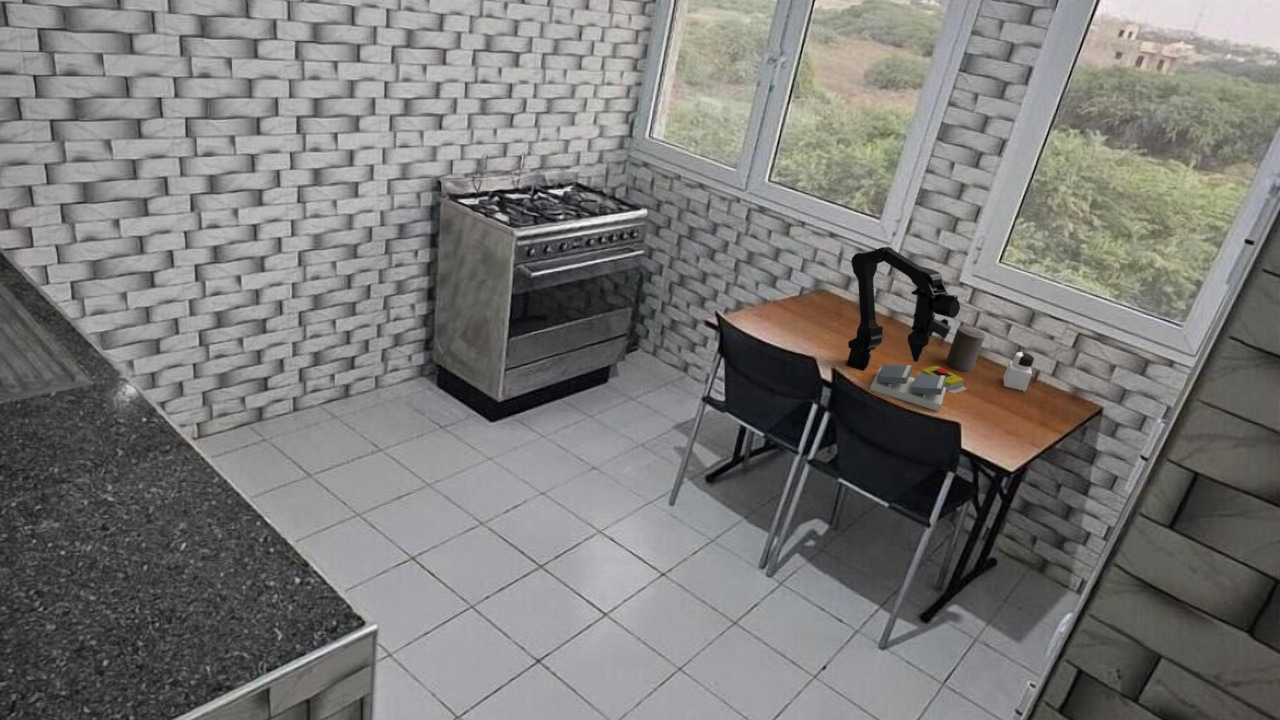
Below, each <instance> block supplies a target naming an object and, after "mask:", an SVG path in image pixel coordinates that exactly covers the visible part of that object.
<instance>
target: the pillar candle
mask: <svg viewBox="0 0 1280 720" xmlns="http://www.w3.org/2000/svg"><path fill="white" fill-rule="evenodd" d="M985 338H986V334H985V333H984V332H982V331H981V330H979V329H977V328H974V327H971V326H966V325H964V326H963V325H961V326H960V325H959V326H958V327H957V328H956V332H955V334H954V337H953V340H952V343H951V345H950V348H949V351H948V354H947V357H946V360H945V364H946V365H948V367H949V368H951V369H954V370H956V371H960V372H965V373H970V372H972V371H973V370H974V368H975V364H976V363H977V359H978V356H979V355H980V354H979V353H980V352H981V348H982V345H983V344H984V341H985Z"/></svg>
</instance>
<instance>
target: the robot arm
mask: <svg viewBox="0 0 1280 720" xmlns="http://www.w3.org/2000/svg"><path fill="white" fill-rule="evenodd" d="M850 262H851V267H852V272H853V274H854V275H855V277H856V279H857V284H858V285H857V286H858V287H857V288H858V298H859V299H858V301H859V315H860V316H859V318H860V320H859V321H860V323H859V325H858V327H857V329H856V330H857V331H856V337H855V338H853V339H850V340H848V342H847V343H848V344H847V345H848V347H847V348H848V349H850V352H849V354H848V358H847V361H846V362H845V365H846V366H849V367H852V368H855V369H858V370H861V371H865V370H866V368H868V366H869V364H870V361H871V358H872V354H871V352H872V351H874V350H875V349H876V347H878V346H880V344H882V342H883V338H884V333H883V329H884V327H883V326H882V325H879V324H878V322H877V318H876V303H875V289H874V288H875V287H874V277H875V276H876V273H877V270H878V264H880V263H882V262H883V263H884V262H885V263H886V264H888V265H889V266H891V267H892V268H894V269H896V271H899V272H901V273H902V274H903V275H905V276H907V278H909V279H910V281H911V282H912V283H913V285H914V286H916V289H914V290H912V291H911V293H910V294H911V295H915V296H916V303H915V308H914V312H913V322H912V326H911V331H910V332H909V333H908V334H907V335H908V336H907V340H906V341H907V343H908V346H909V349H910V353H911V356H912V359H913V362H915V363H918V361H919V359H920V356H921V355H922V352H923V349H924V347H927V346H928V345H929V342H930V337H931V336H933V334H937V335H939V336H940V337H941V338H944V339H945V338H947V336H948V334H949V332H950V331H951V329H952V326H951V325H950V324H949V320H948V319H946V318H951V319H954V318H956V317H957V316H958V314H959V312H960V310H961V306H960V301H959V300H958V299H959V298H958V295H955V294H952V295H951V294H949V292H948V290H947V288H946V286H945V284H944V282H943V277H942V274H941V273H940V272H939V271H938V270H934V269H932V268H929V267H924V266H921V265H919V264H917V263H916V262H913V261H912V260H910V259H909V258H907V257H905V256H904V255H902V254H901V253H899V252H897V251H896V250H894V249H893V248H892V247H890V246H883V247H879V248H877V249H875V250H871V251H866V252H857V253H855V254H854V255H853V256H852V257H851V261H850ZM936 315H939V316H943V317H946V318H943V319H941V320H940V319H937V318H935V317H936Z"/></svg>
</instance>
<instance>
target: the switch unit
mask: <svg viewBox="0 0 1280 720" xmlns="http://www.w3.org/2000/svg"><path fill="white" fill-rule="evenodd" d="M881 368H882V367H879V369H878V371H877V373H876V374H875V377H874V379H873V380H872V382H871V386H870V388H869V390H870V391H873V392H876V393H880V394H882V395H886V396H889V397H892V398H896V399H898V400H902V401H904V402H908V403H912V404H915V405H917V406H921V407H924V408H926V409H930V410H932V411H937V412H939V411H940V409H941V406H942V403H943V401H944V397H945V394H946V392H947V391H946V388H945V387H944V388H943V391H942V394H941V395H935V394H922V393H911V387H912V384H913V382H914V380H915V377H912V376H910V377H909V379H908V381H907V383H906V384H899V383H885V382H877V376H878V374H879V372H880V370H881Z"/></svg>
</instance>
